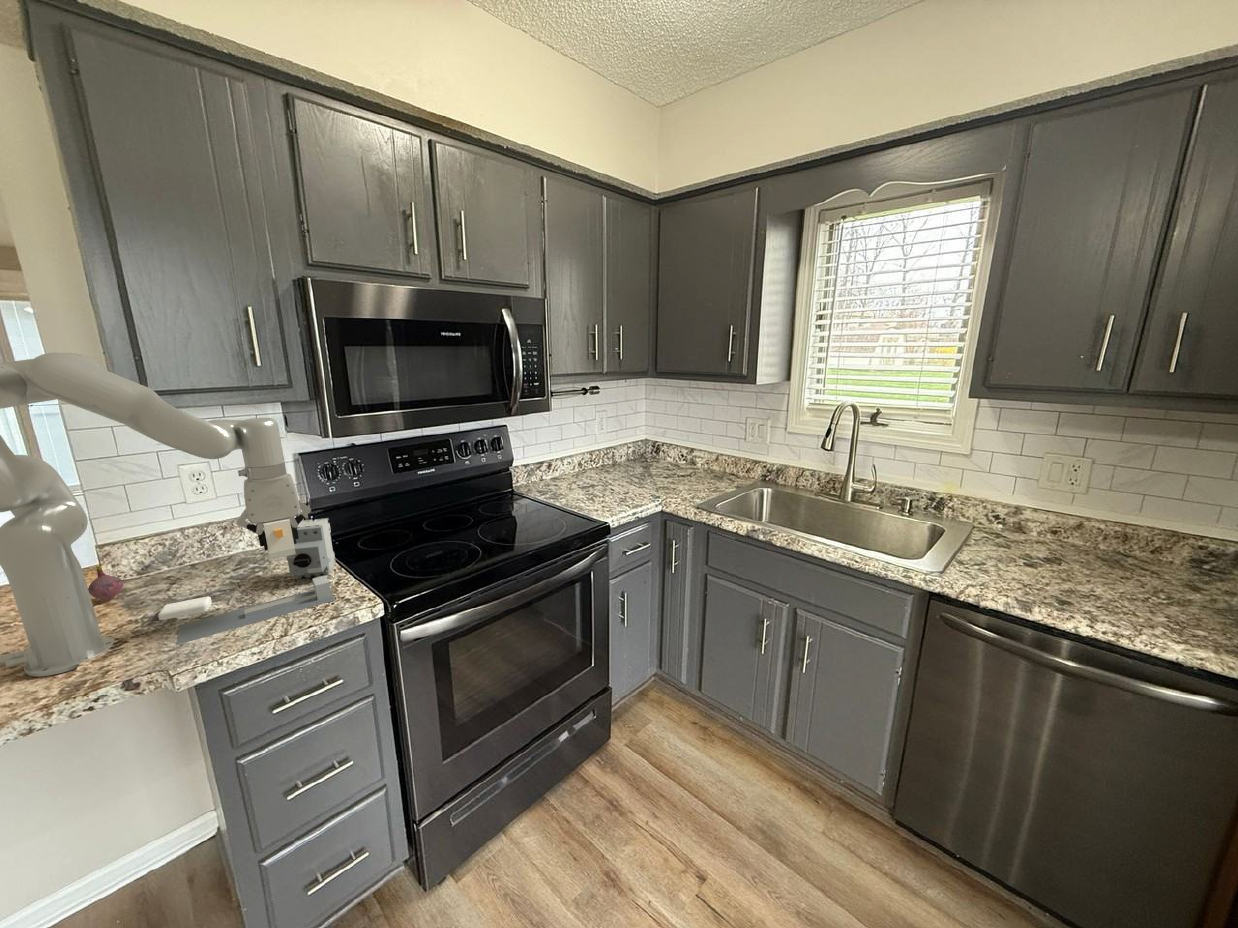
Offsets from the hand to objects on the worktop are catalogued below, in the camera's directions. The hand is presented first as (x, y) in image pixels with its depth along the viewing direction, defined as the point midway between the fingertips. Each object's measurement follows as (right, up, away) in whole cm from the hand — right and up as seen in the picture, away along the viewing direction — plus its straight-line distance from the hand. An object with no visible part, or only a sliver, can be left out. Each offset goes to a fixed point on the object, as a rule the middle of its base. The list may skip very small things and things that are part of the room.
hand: (280, 544), depth 118 cm
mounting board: (-4, -17, 0) cm, 18 cm away
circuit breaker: (-4, -13, +19) cm, 24 cm away
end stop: (+6, -14, +8) cm, 17 cm away
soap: (-23, -18, +1) cm, 29 cm away
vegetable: (-50, -16, +9) cm, 53 cm away
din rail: (-1, -15, +3) cm, 16 cm away
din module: (0, -2, 0) cm, 2 cm away
